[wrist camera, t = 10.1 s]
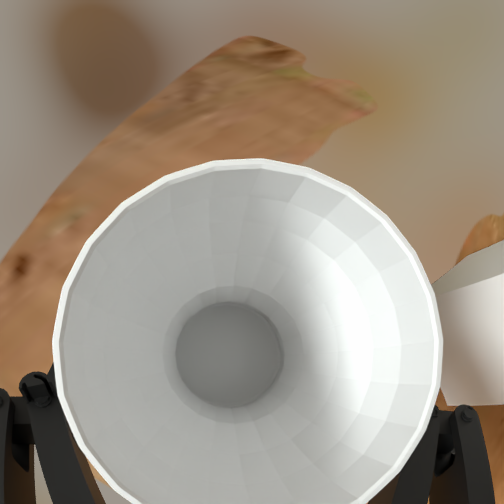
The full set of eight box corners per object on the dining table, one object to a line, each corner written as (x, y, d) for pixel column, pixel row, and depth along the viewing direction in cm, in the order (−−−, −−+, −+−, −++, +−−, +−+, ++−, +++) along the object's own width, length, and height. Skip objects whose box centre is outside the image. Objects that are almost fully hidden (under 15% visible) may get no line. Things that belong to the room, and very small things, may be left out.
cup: (119, 378, 19) (-26, 401, 5) (200, 250, 23) (194, 86, 8) (256, 456, 18) (337, 589, 4) (329, 325, 22) (490, 267, 8)
